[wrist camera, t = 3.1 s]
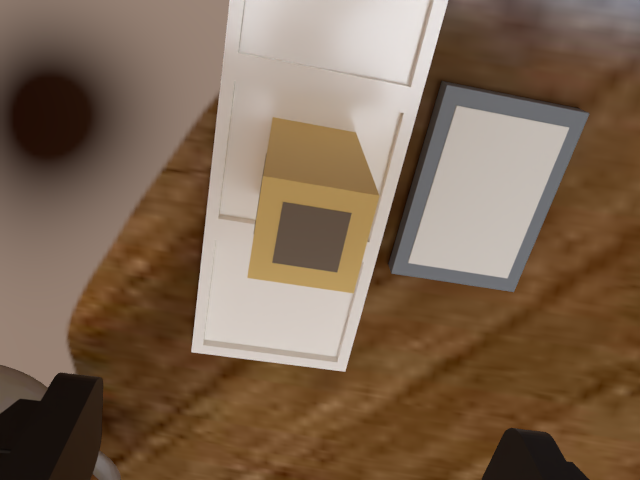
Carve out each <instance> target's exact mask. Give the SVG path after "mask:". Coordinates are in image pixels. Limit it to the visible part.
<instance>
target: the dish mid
mask: <svg viewBox="0 0 640 480" xmlns="http://www.w3.org/2000/svg"><path fill="white" fill-rule="evenodd" d="M419 104H420V103H418V102H413V101H408V100H403V99H398V98H392V97H387V96H382V95H377V94H372V93H367V92H362V91H356V90H351V89H346V88H341V87H336V86H331V85H325V84H320V83H315V82H310V81H305V80H300V79H295V78H289V77H284V76H279V75H274V74H269V73H264V72H259V71H253V70H248V69H243V68H238V67H233V66H228V65H222V74H221V84H220V93H219V102H218V111H217V120H216V129H215V139H214V148H213V157H212V166H211V176H210V185H209V194H208V203H207V212H206V222H205V227H206V228H212V229H219V230H225V231H232V232H238V233H244V234H251V235H254V234H253V233H254V227H255V220H256V214H257V207H258V201H259V195H260V188H261V182H262V175H263V169H264V164H265V158H266V153H267V149H268V143H269V137H270V131H271V125H272V119H273V117H275V118H280V119H286V120H291V121H297V122H302V123H308V124H313V125H318V126H324V127H329V128H335V129H340V130H346V131H351V132H356V134H357V137H358V139H359V142H360V145H361V147H362V150H363V153H364V155H365V158H366V161H367V163H368V166H369V169H370V172H371V174H372V177H373V180H374V182H375V185H376V188H377V190H378V193H379V200H378V203H377V207H376V211H375V215H374V218H373V222H372V226H371V230H370V234H369V237H368V241H367V245H366V249H365V252H366V253H373V254H378V252H379V248H380V245H381V241H382V237H383V234H384V230H385V227H386V223H387V219H388V216H389V212H390V209H391V205H392V201H393V198H394V194H395V191H396V187H397V183H398V180H399V176H400V173H401V169H402V165H403V162H404V158H405V155H406V151H407V147H408V144H409V140H410V137H411V133H412V129H413V126H414V122H415V119H416V115H417V111H418V108H419Z"/></svg>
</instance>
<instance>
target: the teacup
mask: <svg viewBox="0 0 640 480" xmlns="http://www.w3.org/2000/svg"><path fill="white" fill-rule="evenodd" d="M47 389H48V388H47V387H46V386H44V385H43V384H42V383H41V382H39V381H37V380H36V379H34V378H33V377H31V376H29V375H27V374H25V373H23V372H20V371H18V370H15V369H12V368H9V367H6V366H2V365H0V413H1V412H3V411H4V410H5V409H7V408H8V407H9V406H11V405H12V404H13V403H15V402H16V401H17V400H19V399H29V400H37V401H41V399H42V397H43V396H44V394H45V392H46V391H47ZM93 474H94V475H95V476H96V477H97V478H98V479H99V480H121V477H120V473H119V471H118V469H117V467H116V466H115V464H114V463H113V462H112V461H111V459H109V458H108V457H107V456H106V455H104V454H103V453H102V452H101V451H99V454H98V458H97V462H96V465H95V468H94V471H93Z"/></svg>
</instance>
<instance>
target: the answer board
mask: <svg viewBox="0 0 640 480" xmlns="http://www.w3.org/2000/svg"><path fill="white" fill-rule="evenodd" d="M588 116H589V113H588V112H585V111H583V110H581V109H579V108H574V107H569V106H564V105H559V104H554V103H549V102H544V101H539V100H534V99H529V98H524V97H519V96H514V95H509V94H504V93H499V92H494V91H489V90H484V89H479V88H475V87H470V86H465V85H460V84H455V83H450V82H445V81H442V82H441V85H440V89H439V92H438V95H437V99H436V102H435V106H434V109H433V113H432V116H431V119H430V123H429V126H428V130H427V133H426V137H425V140H424V144H423V147H422V150H421V154H420V157H419V161H418V164H417V168H416V171H415V175H414V178H413V181H412V185H411V188H410V192H409V195H408V199H407V202H406V205H405V209H404V212H403V216H402V219H401V223H400V226H399V230H398V233H397V236H396V240H395V243H394V247H393V250H392V254H391V257H390V260H389V267H390V271H391V273H393V274H399V275H406V276H412V277H419V278H426V279H432V280H439V281H445V282H452V283H458V284H465V285H472V286H478V287H485V288H491V289H498V290H505V291H511V292H514V290H515V288H516V286H517V283H518V281H519V278H520V276H521V274H522V271H523V269H524V267H525V264H526V262H527V260H528V257H529V255H530V252H531V250H532V248H533V245H534V243H535V241H536V238H537V236H538V234H539V231H540V229H541V227H542V224H543V222H544V219H545V217H546V215H547V212H548V210H549V208H550V205H551V203H552V201H553V198H554V196H555V194H556V191H557V189H558V186H559V184H560V182H561V179H562V177H563V175H564V172H565V170H566V168H567V165H568V163H569V160H570V158H571V156H572V153H573V151H574V149H575V146H576V144H577V142H578V139H579V137H580V135H581V132H582V130H583V127H584V125H585V123H586V120H587V118H588Z"/></svg>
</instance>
